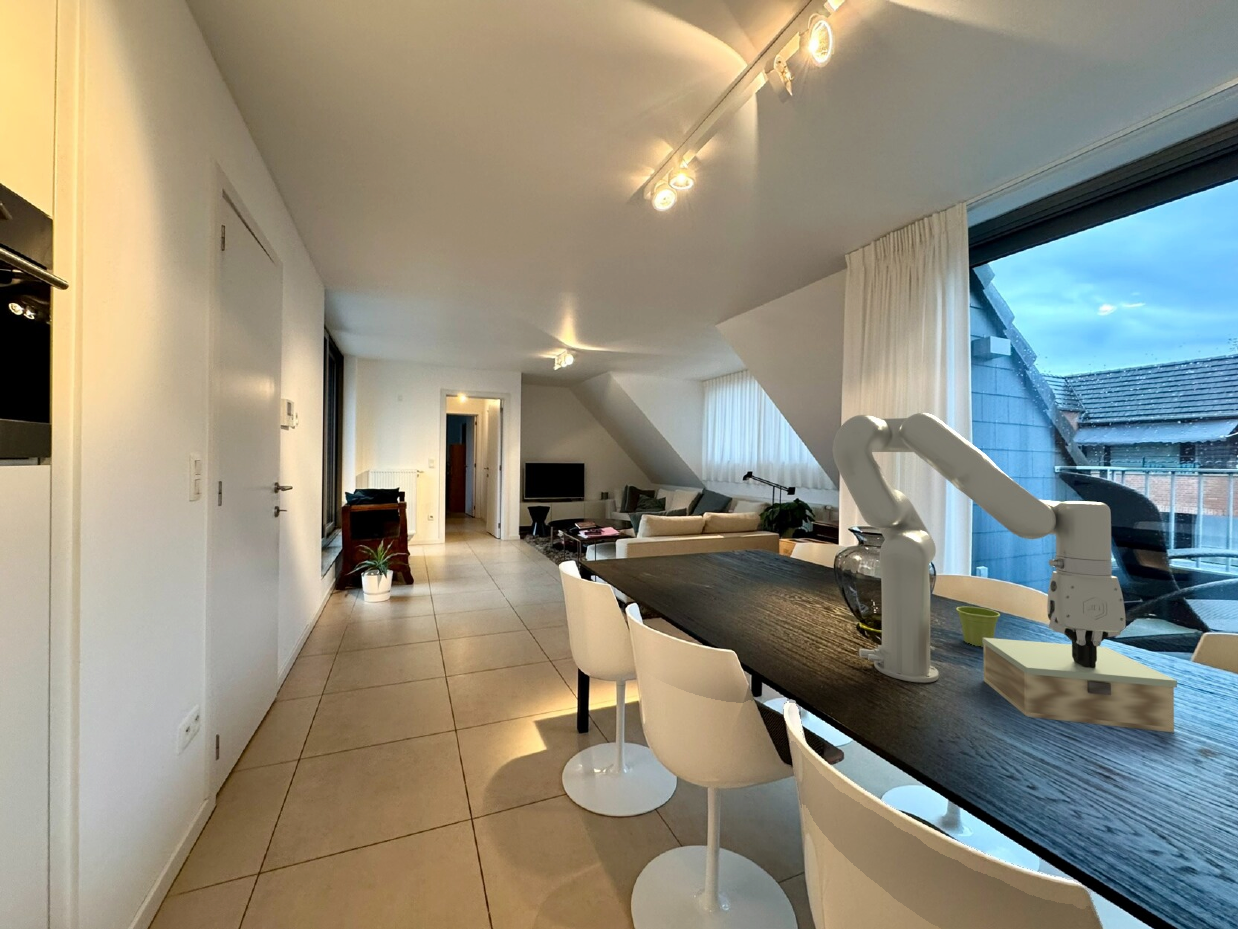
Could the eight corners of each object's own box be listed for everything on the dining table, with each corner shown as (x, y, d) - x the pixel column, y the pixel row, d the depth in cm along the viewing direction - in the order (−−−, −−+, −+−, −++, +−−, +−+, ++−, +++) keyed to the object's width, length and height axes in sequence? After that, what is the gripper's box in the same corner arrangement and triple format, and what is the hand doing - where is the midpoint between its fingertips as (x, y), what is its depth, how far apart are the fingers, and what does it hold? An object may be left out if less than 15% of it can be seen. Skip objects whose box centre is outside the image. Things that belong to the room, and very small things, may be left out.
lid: (1026, 674, 89) (1026, 667, 89) (982, 643, 105) (982, 637, 105) (1177, 687, 84) (1177, 680, 84) (1106, 652, 100) (1106, 647, 100)
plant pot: (952, 643, 128) (952, 610, 128) (961, 635, 135) (961, 604, 135) (996, 653, 121) (996, 618, 122) (1003, 644, 128) (1003, 611, 128)
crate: (1028, 717, 89) (1028, 674, 89) (983, 680, 105) (983, 643, 105) (1176, 733, 84) (1176, 687, 84) (1105, 692, 100) (1105, 653, 100)
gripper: (1049, 568, 89) (1050, 668, 89) (1148, 572, 86) (1149, 676, 85) (1025, 561, 96) (1026, 654, 96) (1115, 565, 93) (1116, 660, 93)
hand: (1084, 664), depth 91 cm, fingers closed
